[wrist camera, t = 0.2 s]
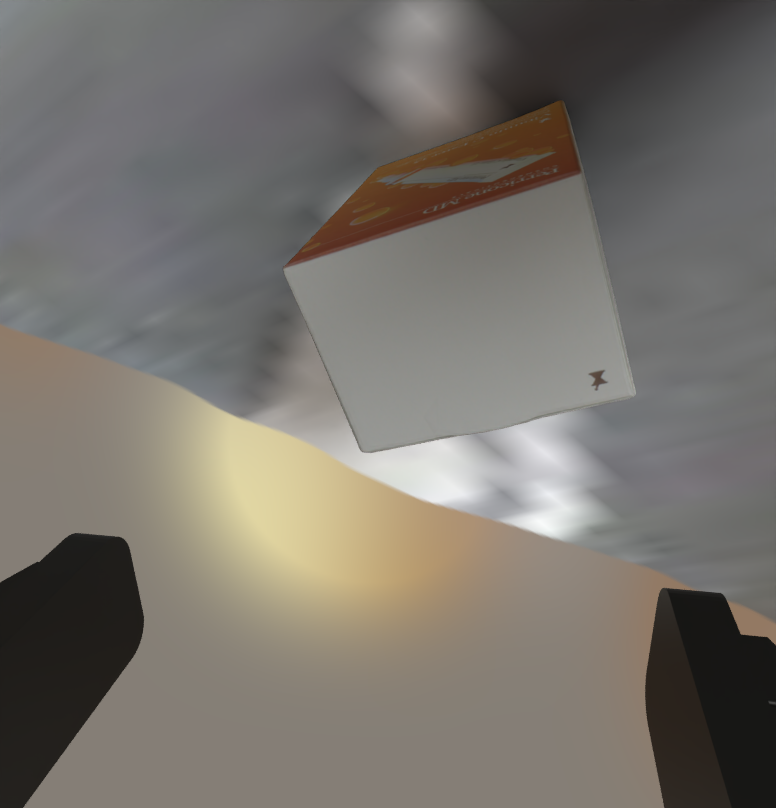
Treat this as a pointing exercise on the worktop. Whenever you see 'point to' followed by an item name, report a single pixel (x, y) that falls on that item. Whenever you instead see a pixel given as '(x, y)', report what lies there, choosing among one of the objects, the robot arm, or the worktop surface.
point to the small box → (466, 289)
